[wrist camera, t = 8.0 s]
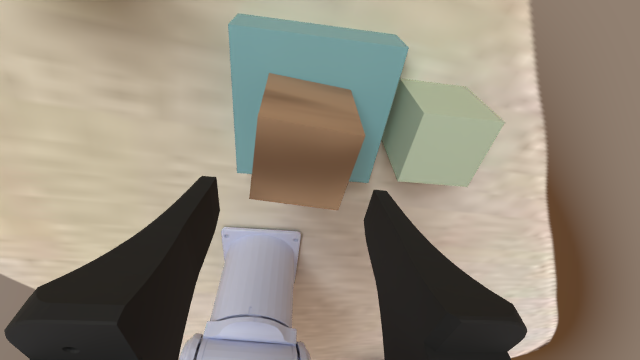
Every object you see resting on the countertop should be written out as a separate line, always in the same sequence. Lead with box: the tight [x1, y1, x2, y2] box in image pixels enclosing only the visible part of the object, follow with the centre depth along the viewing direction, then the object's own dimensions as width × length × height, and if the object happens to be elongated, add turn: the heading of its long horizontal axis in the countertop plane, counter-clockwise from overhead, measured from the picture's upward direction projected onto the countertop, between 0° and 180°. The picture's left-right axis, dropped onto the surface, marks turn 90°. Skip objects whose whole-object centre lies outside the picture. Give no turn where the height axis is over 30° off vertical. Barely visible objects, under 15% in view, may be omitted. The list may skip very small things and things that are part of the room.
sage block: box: [382, 79, 505, 187], centre depth 21 cm, size 5×5×6 cm
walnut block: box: [249, 73, 365, 210], centre depth 17 cm, size 5×5×6 cm
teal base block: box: [228, 14, 409, 183], centre depth 21 cm, size 10×10×4 cm
